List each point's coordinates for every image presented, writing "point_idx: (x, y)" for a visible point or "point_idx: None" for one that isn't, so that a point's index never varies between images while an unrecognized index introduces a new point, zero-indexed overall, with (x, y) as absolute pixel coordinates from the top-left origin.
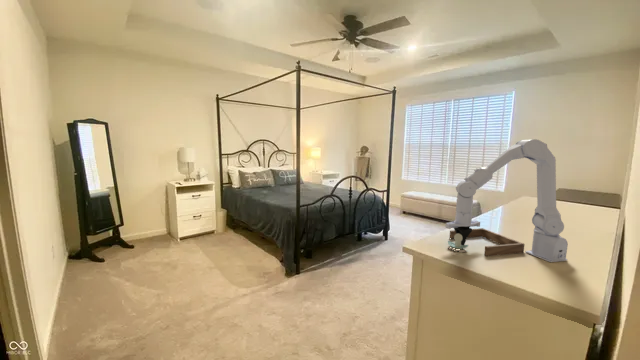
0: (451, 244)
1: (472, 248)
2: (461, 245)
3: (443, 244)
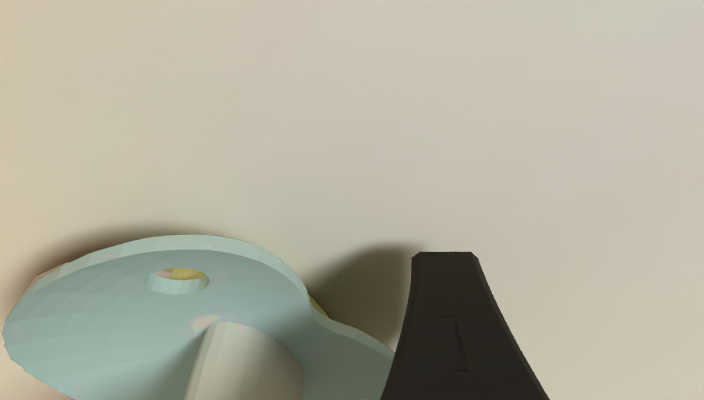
0: (135, 302)
1: (621, 337)
2: (375, 357)
3: (42, 13)
